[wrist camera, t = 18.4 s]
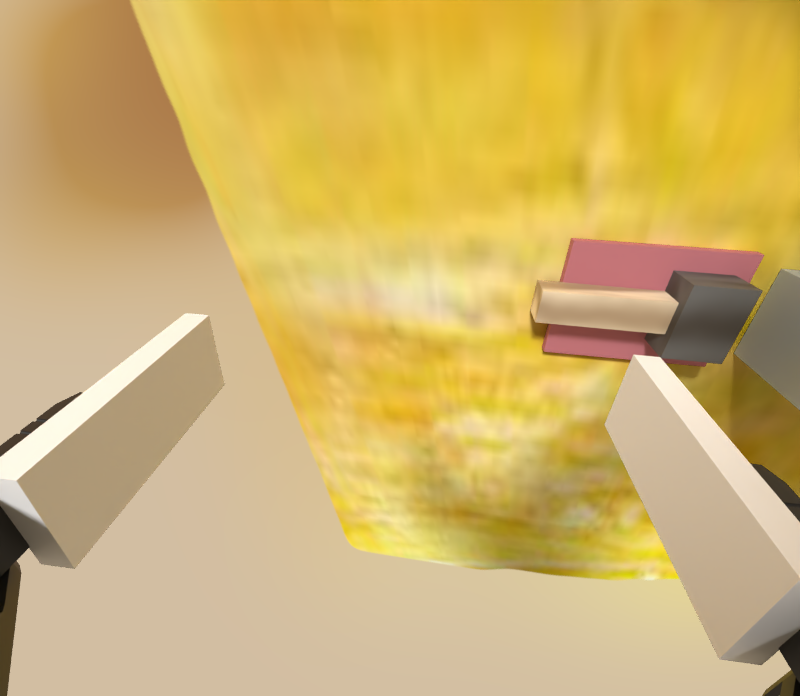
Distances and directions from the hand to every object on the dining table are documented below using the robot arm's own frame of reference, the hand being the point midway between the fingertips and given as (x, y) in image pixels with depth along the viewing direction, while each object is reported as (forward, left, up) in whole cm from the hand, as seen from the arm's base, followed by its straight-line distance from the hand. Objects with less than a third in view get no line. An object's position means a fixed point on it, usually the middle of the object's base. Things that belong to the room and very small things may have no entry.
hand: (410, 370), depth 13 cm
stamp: (+10, +21, -31) cm, 39 cm away
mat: (+10, +23, -32) cm, 40 cm away
